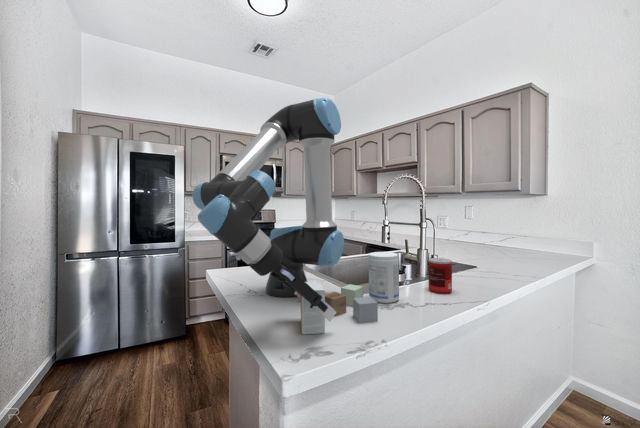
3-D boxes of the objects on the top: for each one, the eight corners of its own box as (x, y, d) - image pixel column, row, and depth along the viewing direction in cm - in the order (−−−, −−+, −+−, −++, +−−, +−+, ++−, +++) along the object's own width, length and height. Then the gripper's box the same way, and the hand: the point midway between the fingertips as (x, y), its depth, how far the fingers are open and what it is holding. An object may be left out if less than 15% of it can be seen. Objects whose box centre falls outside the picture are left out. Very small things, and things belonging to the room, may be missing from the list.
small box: (300, 321, 74) (300, 281, 73) (321, 320, 74) (321, 280, 74) (301, 335, 66) (300, 290, 65) (325, 333, 66) (324, 289, 66)
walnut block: (321, 312, 80) (321, 294, 80) (334, 308, 83) (334, 291, 83) (332, 317, 76) (332, 299, 76) (346, 313, 79) (346, 295, 79)
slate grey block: (353, 316, 77) (353, 298, 77) (370, 314, 78) (370, 296, 78) (359, 323, 72) (359, 304, 72) (377, 321, 73) (377, 302, 73)
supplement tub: (388, 293, 97) (387, 250, 97) (405, 301, 88) (405, 255, 88) (363, 296, 94) (363, 252, 93) (378, 305, 85) (378, 257, 84)
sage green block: (341, 303, 87) (340, 287, 87) (349, 299, 91) (349, 284, 91) (355, 307, 84) (354, 290, 84) (363, 302, 88) (362, 286, 88)
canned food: (447, 287, 103) (447, 257, 102) (455, 294, 95) (455, 262, 94) (425, 287, 103) (425, 257, 103) (432, 294, 95) (432, 261, 95)
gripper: (238, 258, 72) (296, 308, 80) (262, 276, 53) (336, 340, 60) (258, 236, 74) (312, 287, 82) (288, 245, 55) (356, 311, 63)
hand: (322, 309), depth 71 cm, fingers closed on small box, 9 cm apart
